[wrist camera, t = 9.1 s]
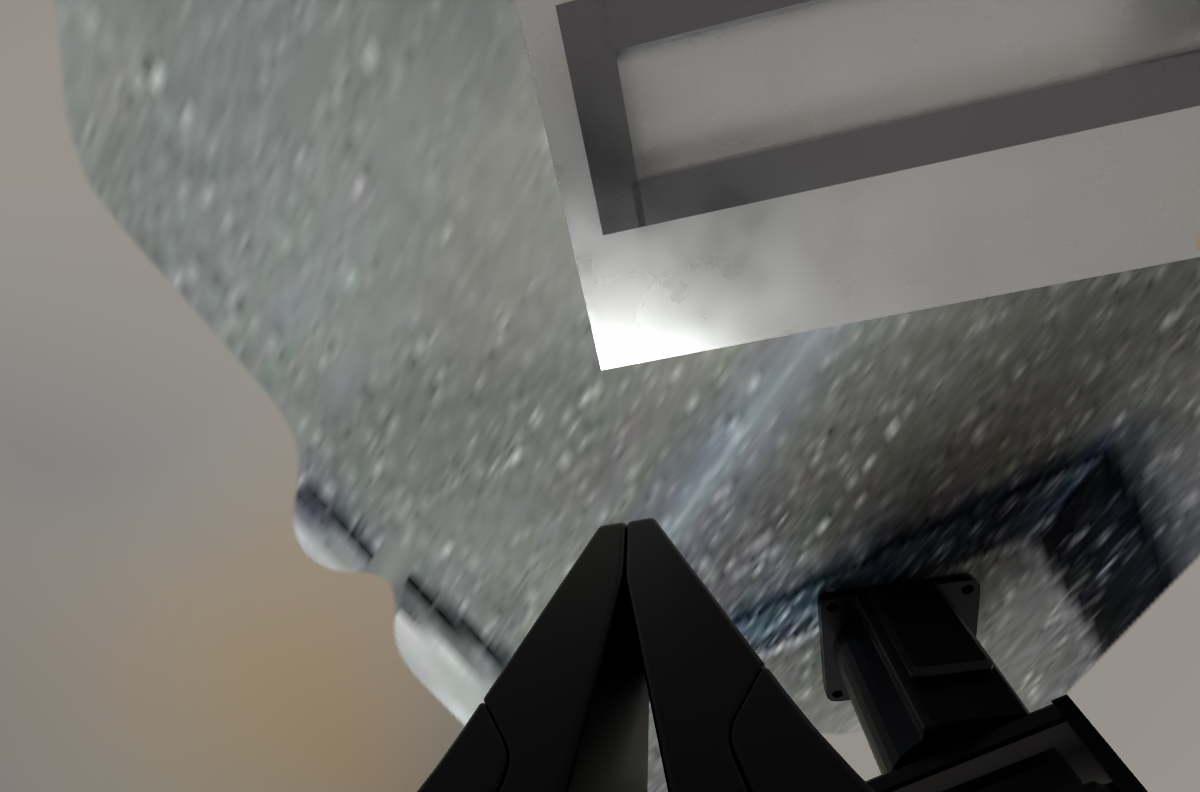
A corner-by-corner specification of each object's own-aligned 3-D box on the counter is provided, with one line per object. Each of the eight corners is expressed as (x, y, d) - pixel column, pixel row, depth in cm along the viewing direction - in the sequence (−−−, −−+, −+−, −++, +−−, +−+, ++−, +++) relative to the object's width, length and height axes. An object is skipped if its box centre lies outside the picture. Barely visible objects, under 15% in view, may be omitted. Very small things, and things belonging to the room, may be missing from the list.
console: (1364, 201, 17) (1504, 213, 15) (602, 349, 20) (600, 382, 17) (1596, -497, 12) (1895, -691, 9) (488, -157, 14) (457, -226, 12)
